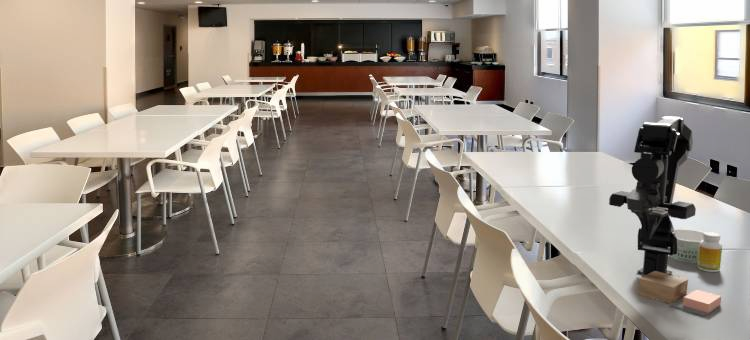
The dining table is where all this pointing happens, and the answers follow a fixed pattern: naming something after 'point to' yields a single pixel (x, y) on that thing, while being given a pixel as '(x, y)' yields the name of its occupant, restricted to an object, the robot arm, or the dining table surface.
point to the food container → (687, 245)
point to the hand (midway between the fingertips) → (648, 239)
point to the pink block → (702, 300)
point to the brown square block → (662, 287)
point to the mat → (679, 305)
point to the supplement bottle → (710, 252)
